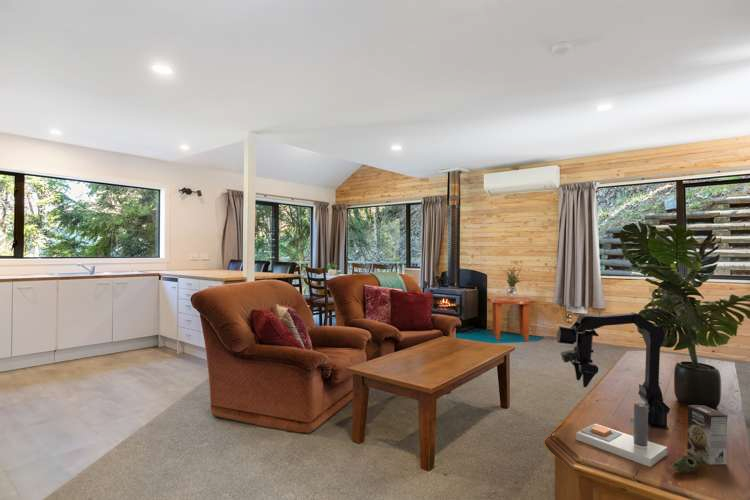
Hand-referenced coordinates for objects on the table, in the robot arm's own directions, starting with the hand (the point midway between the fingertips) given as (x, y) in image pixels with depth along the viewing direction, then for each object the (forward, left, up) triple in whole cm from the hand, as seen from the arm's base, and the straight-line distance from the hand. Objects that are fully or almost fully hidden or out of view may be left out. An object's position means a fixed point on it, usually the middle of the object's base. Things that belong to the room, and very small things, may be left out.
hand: (581, 383), depth 173 cm
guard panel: (-8, +23, -15) cm, 29 cm away
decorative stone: (-24, +35, -15) cm, 45 cm away
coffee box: (-34, +24, -15) cm, 44 cm away
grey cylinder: (-13, +27, -12) cm, 33 cm away
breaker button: (-3, +19, -13) cm, 23 cm away
